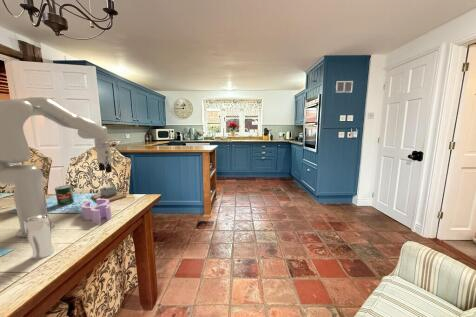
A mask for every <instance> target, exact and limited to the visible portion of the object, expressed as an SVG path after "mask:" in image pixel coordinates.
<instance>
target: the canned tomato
mask: <svg viewBox="0 0 476 317" xmlns="http://www.w3.org/2000/svg"><path fill="white" fill-rule="evenodd" d="M54 191H55V193H54V194H55V198H56V203H57V207H65V206H69V205H72V204H73V203H75V201H74V200H75V199H74V195H73V188H72V185H70V184H65V185H58V186H57V187H54Z"/></svg>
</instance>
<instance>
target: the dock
mask: <svg viewBox="0 0 476 317" xmlns="http://www.w3.org/2000/svg"><path fill="white" fill-rule="evenodd" d="M112 187H113V186H112V185H106V186H103V187H102V188H104V189H105V190H108V189H112ZM116 192H117V195H115V196H111V197H108V198H104V197H102V196H101V193H98V194H94V195H91V199H93V200H95V201H96V199H98V198H101V199H108V200H109V203H111V202H112V203H113V202H115V201H117V200H120V199H121V200H122V199H124V198H127V194H125V193H124V192H123V193H122V192H120V191H117V190H116Z"/></svg>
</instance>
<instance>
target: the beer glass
mask: <svg viewBox="0 0 476 317" xmlns="http://www.w3.org/2000/svg"><path fill="white" fill-rule="evenodd" d="M51 222H52V221H51V220H50V216H49V214H40V215H35V216H32V217H29V218H27V219H25V220H24V227H25V233H26V236H27V237H26V239H27V240H28V242H29V245H30V246H31V249H32V259H34V260H40V259H44V258H46V257H48V256H51V255H52V254H53V253H55V247H54V246H53V244H52V233H53V232H52V228H51Z"/></svg>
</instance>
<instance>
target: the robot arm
mask: <svg viewBox="0 0 476 317" xmlns="http://www.w3.org/2000/svg"><path fill="white" fill-rule="evenodd" d="M34 116H41V117H44V118H46V119H47V120H50V121H52V122H54V123H55V124H58V125H59V126H61V127H65V128H68V129H72V130H77V136H79V137H80V138H81V139H84V140H94V147H95V149H96V160H97V162H98V169H99V171H100V172H102V171H105V173H107V174H109V173H112V163H113V160H112V159H113V158H112V154H111V150H110V143H109V142H110V140H109V135H108V134H109V133H108V128H107V127H106V126H103V125H102V126H101V125H99V123H96V122H94V121H92V120H90V119H89V118H86V117H83V116H80V115H78V114H75V113H73V112H71V111H69V110H67V108H65V107H63V106H61V105H60V104H59V103H57V102H55V101H53V100H52V99H51V98H47V97H43V96H41V97H26V98H24V97H23V98H12V99H0V184H1V185H5V186H14V190H13V193H12V194H13V196H12V197H13V201H14V204H15V210H16V213H17V218H18V222H19V228H20V229H18V231H17V232H16V236H17V237H18V238H27V236H26V233H25V227H24V220H25V219H27V218H29V217H32V216H35V215H40V214H48V210H47V206H46V204H47V202H46V203H45V199H46V197H45V198H44V193H45V192H44V193H43V188H44V182H43V181H44V174H43V172H42V170H41V168H39V167H37V165H36V166H35V165H32V164H20V163H24V162H27V161H28V160H29V159H30V158H31V156H32V154H31V149H30V147H29V144H28V141H27V138H26V136H25V132H24V125H25V123H26V121H28V119H29V118H30V117H34ZM42 183H43V185H42ZM48 215H49V214H48ZM50 222H51V228H54V227H55V223H54V222H53V221H50Z"/></svg>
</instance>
